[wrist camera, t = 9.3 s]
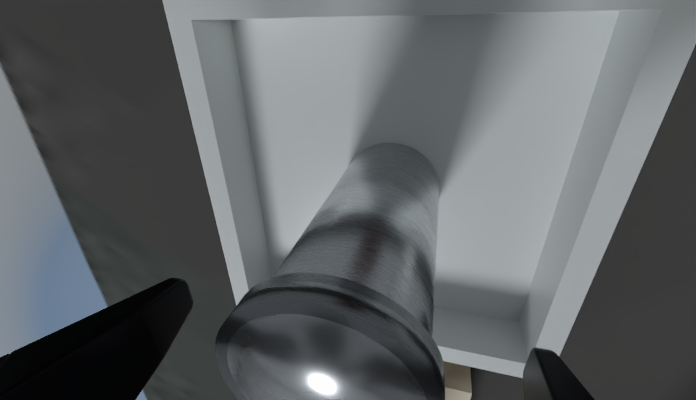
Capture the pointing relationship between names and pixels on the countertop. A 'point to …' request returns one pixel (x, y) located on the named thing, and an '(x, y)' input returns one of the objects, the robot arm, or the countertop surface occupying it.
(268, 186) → the tray
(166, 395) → the countertop surface
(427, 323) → the metal pin
